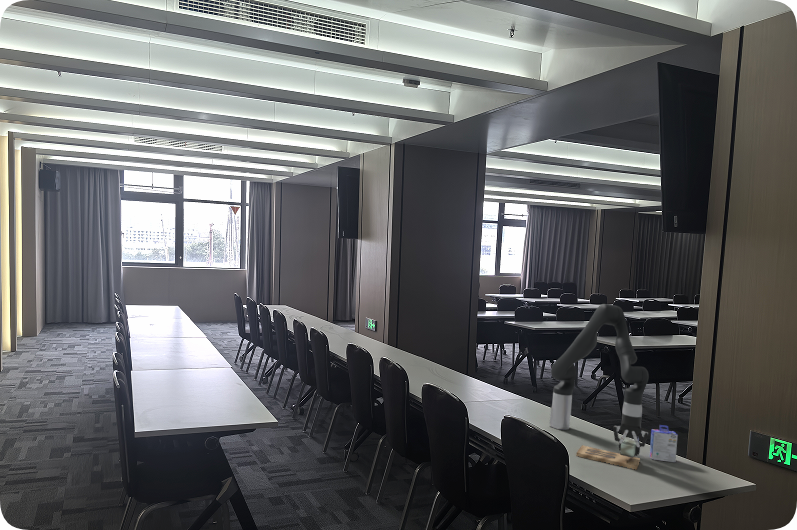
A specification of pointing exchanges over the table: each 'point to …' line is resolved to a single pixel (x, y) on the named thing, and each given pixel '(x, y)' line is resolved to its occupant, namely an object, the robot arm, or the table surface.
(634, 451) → the block
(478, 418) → the table surface
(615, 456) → the tan wooden board
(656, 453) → the ink cartridge box
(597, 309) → the robot arm
